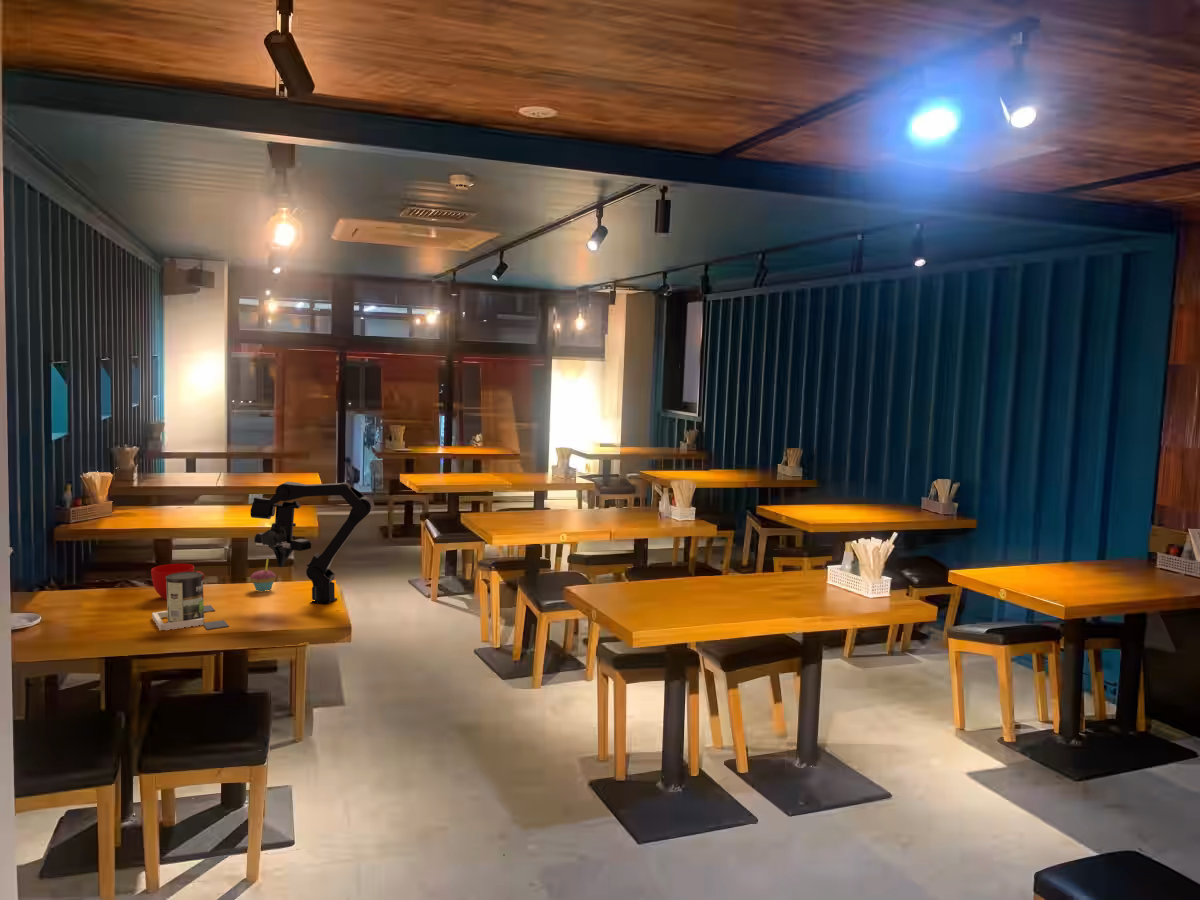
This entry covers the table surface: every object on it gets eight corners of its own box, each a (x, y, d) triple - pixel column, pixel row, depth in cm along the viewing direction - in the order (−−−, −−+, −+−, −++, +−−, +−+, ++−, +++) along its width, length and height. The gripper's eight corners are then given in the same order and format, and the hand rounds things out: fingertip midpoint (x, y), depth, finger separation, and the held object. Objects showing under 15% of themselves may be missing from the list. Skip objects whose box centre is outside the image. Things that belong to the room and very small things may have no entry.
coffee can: (207, 615, 271) (206, 570, 270) (200, 624, 261) (199, 578, 260) (171, 616, 269) (170, 572, 267) (163, 626, 259) (161, 580, 257)
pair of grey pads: (210, 605, 281) (210, 605, 281) (228, 626, 259) (228, 625, 259) (190, 608, 278) (190, 607, 278) (207, 629, 256) (207, 628, 256)
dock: (193, 612, 273) (193, 607, 273) (203, 624, 261) (203, 619, 260) (152, 618, 267) (152, 612, 266) (160, 631, 254) (159, 625, 254)
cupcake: (280, 588, 306) (280, 554, 305) (269, 594, 297) (268, 559, 296) (257, 587, 306) (256, 553, 305) (245, 593, 298) (244, 558, 297)
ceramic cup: (195, 602, 285) (194, 572, 284) (144, 601, 285) (143, 571, 284) (213, 592, 298) (212, 564, 297) (164, 591, 298) (163, 563, 297)
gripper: (243, 519, 281) (240, 566, 282) (291, 527, 275) (287, 576, 276) (267, 515, 291) (264, 560, 292) (313, 523, 285) (310, 570, 286)
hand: (280, 566), depth 286 cm, fingers closed
